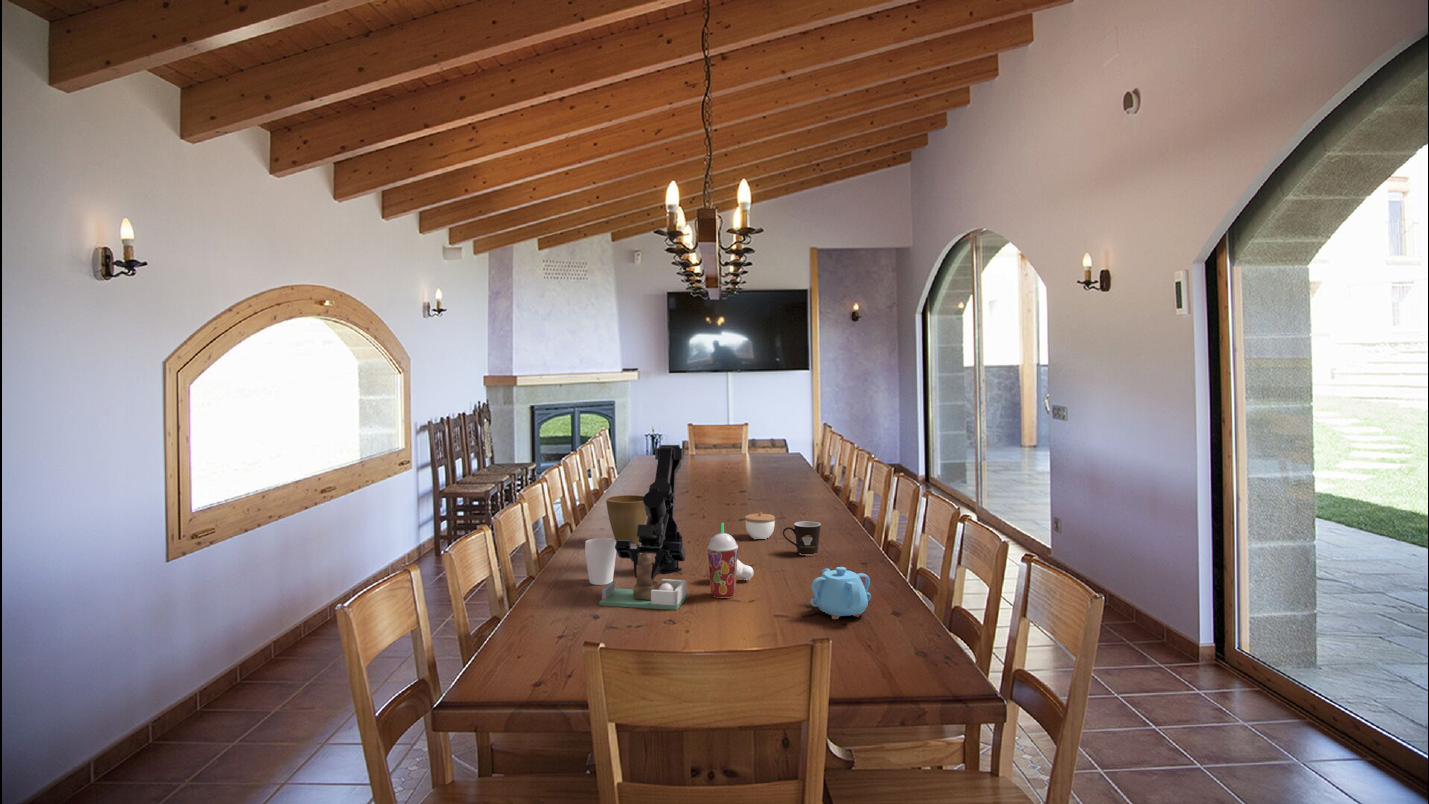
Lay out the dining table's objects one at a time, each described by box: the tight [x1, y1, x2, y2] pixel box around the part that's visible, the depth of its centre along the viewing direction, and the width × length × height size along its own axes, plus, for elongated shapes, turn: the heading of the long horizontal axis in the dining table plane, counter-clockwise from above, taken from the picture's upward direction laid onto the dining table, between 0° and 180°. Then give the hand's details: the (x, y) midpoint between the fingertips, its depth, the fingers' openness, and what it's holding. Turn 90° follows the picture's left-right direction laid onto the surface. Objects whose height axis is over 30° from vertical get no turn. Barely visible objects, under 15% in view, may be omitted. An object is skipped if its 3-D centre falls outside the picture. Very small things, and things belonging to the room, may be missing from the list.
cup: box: [584, 537, 617, 586], centre depth 232 cm, size 9×9×12 cm
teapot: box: [809, 566, 872, 617], centre depth 203 cm, size 20×17×12 cm
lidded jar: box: [744, 511, 776, 540], centre depth 286 cm, size 11×11×9 cm
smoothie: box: [707, 522, 739, 598], centre depth 218 cm, size 8×8×20 cm
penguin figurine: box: [736, 558, 754, 581], centre depth 232 cm, size 6×8×12 cm
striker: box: [632, 553, 659, 600], centre depth 214 cm, size 5×6×12 cm
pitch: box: [599, 578, 689, 611], centre depth 214 cm, size 21×12×4 cm, turn 78°
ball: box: [658, 583, 674, 591], centre depth 213 cm, size 4×4×4 cm
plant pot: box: [605, 494, 647, 545], centre depth 279 cm, size 15×15×16 cm
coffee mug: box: [782, 520, 822, 554], centre depth 263 cm, size 12×9×10 cm
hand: (643, 578), depth 213 cm, fingers closed on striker, 4 cm apart
